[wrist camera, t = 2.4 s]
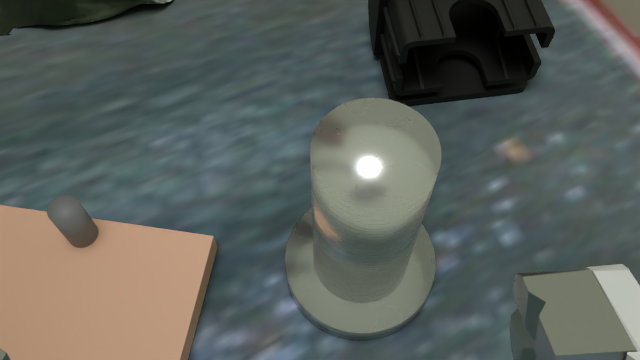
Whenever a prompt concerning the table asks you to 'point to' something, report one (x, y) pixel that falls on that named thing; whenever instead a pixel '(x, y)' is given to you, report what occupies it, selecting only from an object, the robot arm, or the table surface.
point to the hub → (366, 221)
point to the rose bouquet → (61, 11)
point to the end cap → (457, 47)
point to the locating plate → (98, 286)
